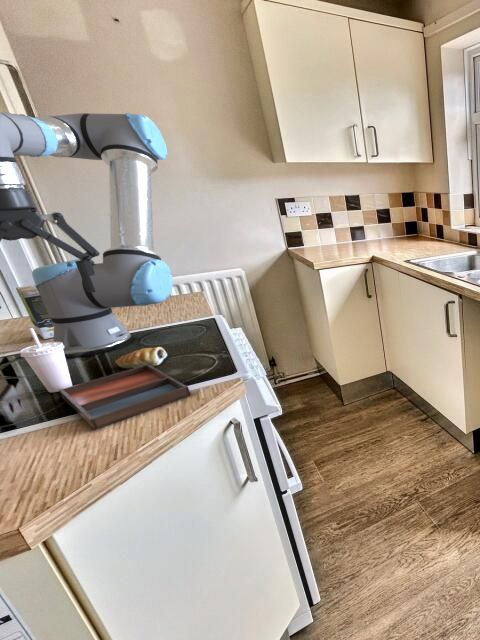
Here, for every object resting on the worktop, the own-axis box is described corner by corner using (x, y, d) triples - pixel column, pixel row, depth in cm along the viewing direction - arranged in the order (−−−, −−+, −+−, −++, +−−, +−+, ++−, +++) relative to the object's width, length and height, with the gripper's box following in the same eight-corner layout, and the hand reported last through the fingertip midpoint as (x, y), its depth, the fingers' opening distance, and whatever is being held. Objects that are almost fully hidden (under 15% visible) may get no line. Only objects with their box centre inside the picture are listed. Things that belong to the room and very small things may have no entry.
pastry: (111, 372, 98) (105, 357, 97) (126, 361, 104) (120, 347, 103) (159, 366, 101) (154, 351, 100) (170, 356, 107) (166, 342, 106)
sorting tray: (62, 398, 87) (58, 389, 86) (151, 371, 98) (148, 363, 97) (94, 429, 75) (90, 420, 74) (191, 395, 86) (187, 386, 86)
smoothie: (33, 398, 87) (1, 334, 82) (47, 385, 92) (18, 325, 87) (74, 390, 90) (46, 329, 85) (85, 379, 95) (60, 320, 90)
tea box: (102, 320, 138) (84, 275, 132) (111, 325, 132) (92, 279, 127) (36, 334, 126) (14, 285, 121) (43, 340, 121) (19, 290, 115)
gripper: (-117, 190, 66) (-47, 319, 73) (93, 185, 85) (130, 287, 93) (-120, 190, 70) (-54, 313, 77) (81, 185, 89) (118, 284, 97)
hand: (47, 299), depth 85 cm, fingers open, 13 cm apart
